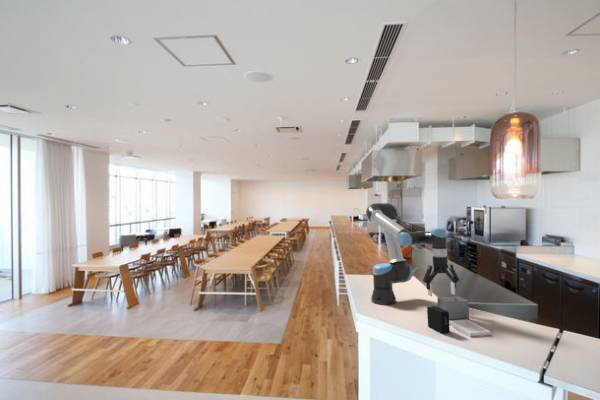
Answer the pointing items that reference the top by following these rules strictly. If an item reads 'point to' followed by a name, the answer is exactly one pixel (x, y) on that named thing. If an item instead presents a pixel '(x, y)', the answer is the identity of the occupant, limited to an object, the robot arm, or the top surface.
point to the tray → (469, 328)
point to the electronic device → (438, 319)
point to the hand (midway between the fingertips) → (441, 294)
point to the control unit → (455, 307)
